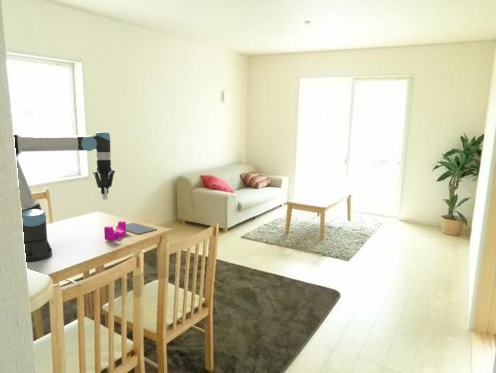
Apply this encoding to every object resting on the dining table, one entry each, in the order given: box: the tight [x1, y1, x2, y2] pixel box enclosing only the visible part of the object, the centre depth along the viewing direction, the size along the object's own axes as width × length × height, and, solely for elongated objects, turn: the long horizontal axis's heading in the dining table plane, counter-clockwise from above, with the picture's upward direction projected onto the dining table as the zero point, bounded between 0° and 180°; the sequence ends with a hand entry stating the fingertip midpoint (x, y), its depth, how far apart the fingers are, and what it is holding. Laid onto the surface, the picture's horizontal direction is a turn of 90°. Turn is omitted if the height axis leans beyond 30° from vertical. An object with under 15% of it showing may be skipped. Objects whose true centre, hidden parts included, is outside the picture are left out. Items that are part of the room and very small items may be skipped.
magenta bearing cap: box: [103, 220, 127, 242], centre depth 217 cm, size 15×6×8 cm, turn 163°
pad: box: [115, 222, 158, 235], centre depth 234 cm, size 14×24×1 cm, turn 53°
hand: (104, 199), depth 214 cm, fingers closed
